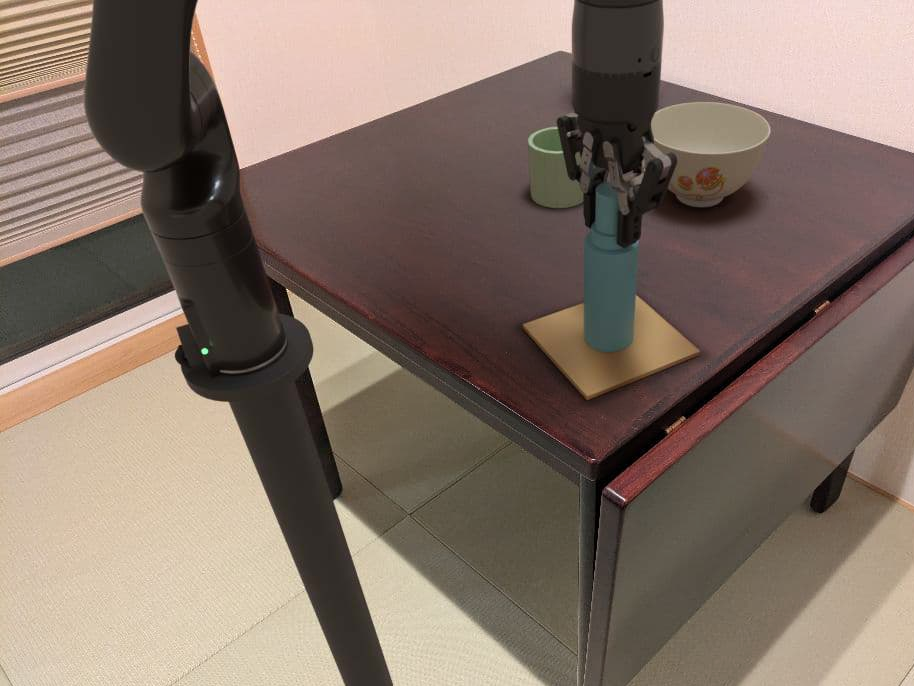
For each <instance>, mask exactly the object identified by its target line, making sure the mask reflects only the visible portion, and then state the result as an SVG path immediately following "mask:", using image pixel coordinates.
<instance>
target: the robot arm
mask: <svg viewBox="0 0 914 686" xmlns="http://www.w3.org/2000/svg"><path fill="white" fill-rule="evenodd" d="M198 2H199V0H92V12H91V24H90V32H89V33H90V34H89V42H88V53H87V59H86V60H87V62H86V69H85V77H84V85H83V86H84V88H83V109H84V115H85V119H86V122H87V125H88V127H89V130H90V132H91V133H92V136H93V138H94V139H95V140H96V142H97V143H98V145H100V147H101V149H102V150H103V151H104V152H105V153H106V154H107V155H108V156H109V157H110V159H112V160H114V161H115V162H116V163H118V164H119V165H121V166H122V167H124V168H126V169H130V170H131V171H134V172H137V173H138V172H139V173H142V185H141V192H140V208H141V211H142V215H143V217H144V219H145V221H146V224H147V226H148V229H149V230H150V233H151V235H152V238H153V240H154V242H155V245H156V247H157V250H158V252H159V254H160V257H161V260H162V262H163V264H164V267H165V269H166V272H167V274H168V276H169V278H170V281H171V284H172V286H173V288H174V291H175V293H176V296H177V299H178V301H179V304H180V307H181V310H182V312H183V314H184V316H185V319H186V321H187V324H186V323H185V324H184V325H180V326H177V327H175V329H176V332H177V336H178V339H179V341H180V344H179V345H178V347H177V348H176V350H175V352H174V359H175V361H176V363H178V365H180V366H181V365H182V366H184V367H186V368H188V369H190V368H191V367H192V366H195V365H198V364H201V363H205V365H206V367H207V369H208V372H209V374H210V377H216V376H220V375H226V376H240V375H247V374H251V373H254V372H257V371H260V370H263V369H265V368H267V367H269V366H270V365H272V364H273V363H275V362H276V361H277V360H279V359H280V358H281V357H282V355H283V354H284V353H285V351H286V349H287V346H288V338H287V335H286V332H285V331H284V327H283V324H282V322H281V319H280V316H279V309H278V307H277V304H276V301H275V298H274V294H273V291H272V288H271V285H270V281H269V279H268V275H267V272H266V269H265V266H264V263H263V260H262V257H261V253H260V251H259V247H258V244H257V241H256V238H255V235H254V231H253V228H252V225H251V223H250V219H249V216H248V213H247V210H246V207H245V204H244V200H243V197H242V193H241V173H240V171H241V170H240V164H239V160H238V156H237V153H236V149H235V145H234V142H233V138H232V134H231V130H230V126H229V123H228V119H227V116H226V112H225V109H224V105H223V102H222V99H221V96H220V93H219V90H218V88H217V86H216V84H215V81H214V78H213V77H212V75H211V72H209V70H208V69H207V67H206V65H205V64H204V63H203V62H202V61H201V60H200V58H199V57H198V56H197V55H196V54H195V53H194V52H193V51H192V50H191V45H192V44H191V43H192V31H193V25H194V19H195V14H196V9H197V5H198ZM664 33H665V16H664V0H573V11H572V17H571V106H572V109H573V112H570V113H567V114H565V115H563V116H559V117H558V118H557V119H556V127H558V132H559V136H560V141H561V146H562V150H563V155H564V160H565V164H566V169H567V174H568V177H569V178H570V180H572V181H574V180H577V181H578V182H579V183H580V185H579V186H580V189H581V191H582V192H583V202H582V203H583V204H582V205H583V206H582V208H583V210H582V213H583V219H584V226H585V227H586V228H588V229H589V230H591V226H592V224H593V223H594V222H595V217H596V188H597V186H598V185H600V184H601V183H604V182H608V179H610V181H611V186H612V189H614V190H616V191H617V197H618V204H619V209H620V211H619V212H618V222H617V245H619V246H621V247H622V248H626V247H628V246H630V245H632V244H634V243H636V242H637V240H639V241H640V239H641V236H642V225H643V224H642V222H643V215H645V214H646V213H648V212H651V211H653V210H656V209H658V208H660V207H661V206H662V203H663V201H664V198H665V195H666V193H667V191H668V185H669V183H670V180H671V178H672V175H673V173H674V170H675V167H676V165H677V157H676V155H675V154H674V153H668V154H666V155H664V154H663V153H662V152H661V151H660V150H659V149H658V148H657V147H656V146H655V145H654V136H653V133H652V128H651V121H652V118H653V116H654V114H655V112H657V111H658V108H659V105H660V91H661V78H662V62H663V49H664V45H663V44H664ZM577 152H580V156H581V162H580V164H579V165H577V162H576V157H575V155H576V153H577ZM628 173H630V174H628ZM626 174H628V175H626ZM624 175H625V176H624ZM631 188H632V193H633V196H631V193H630V194H629V189H630V190H631ZM184 355H186V357H187V358H186V357H185V356H184Z"/></svg>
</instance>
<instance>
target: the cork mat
mask: <svg viewBox="0 0 914 686" xmlns="http://www.w3.org/2000/svg"><path fill="white" fill-rule="evenodd" d="M522 329H523V331H524V332H525V333H526V334H527V335H528V337H530V338H531V339H532V340H533V341H534V343H535V344H536V345H537V346H538V347H539V348H540V349H541V351H542V352H543V353H544V354H545V355H546V356H547V358H549V360H550V361H551V362H552V363H553V364H554V365H555V366H556V367H557V368H558V370H559V371H560V372H561V373H562V375H564V376H565V377H566V379H567V380H568V381H569V382H570V383H571V384H572V386H574V387H575V389H576V390H577V391H578V392H579V393H580V395H582V397H584V399H585V400H586V401H589V400H592V399H594V398H597V397H600V396H601V395H604V394H606V393H609V392H611V391H614V390H617V389H620V388H622V387H624V386H626V385H629V384H632V383H635V382H636V381H639V380H642V379H644V378H646V377H649V376H651V375H654V374H656V373H659V372H661V371H664V370H666V369H670V368H671V367H673V366H676V365H679V364H681V363H684V362H686V361H688V360H691V359H693V358H696V357H699V356H700V354H701V350H700V349H699V348H698V347H697V346H695V345H694V344H693V343H692V342H691V341H689V340H688V339H687V338H686V337H685V336H684V335H682V334H681V333H680V331H678V330H677V329H676V328H675V327H674V326H672V324H670V322H668V321H667V320H666V319H665V318H663V317H662V316H661V315H660V314H659V313H658V312H657V311H655V310H654V309H653V308H652V307H651V306H650V305H648V304H647V303H646V302H645V301H644V300H643V299H642V298H641V297H640V296H638V295H637V294H636V301H635V318H634V335H633V341H632V343H631V344H630V345H629V346H628V347H627V348H625V349H623V350H620V351H616V352H602V351H598V350H595V349H593V348H591V347H590V346H588V345H587V344H586V342H585V340H584V302H582V303H579V304H576V305H574V306H570V307H568V308H564V309H562V310H559V311H557V312H554V313H551V314H548V315H545V316H542V317H539V318H537V319H533V320H531V321H528V322H525V323H523V324H522Z"/></svg>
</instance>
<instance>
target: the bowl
mask: <svg viewBox="0 0 914 686" xmlns="http://www.w3.org/2000/svg"><path fill="white" fill-rule="evenodd" d="M651 128H652V133H653V136H654V145H655V146H656V147H657V148H658V149H659V150H660V151H661V152H662V153H663V154H664V155H666V154H668V153H674V154H675V155H676V157H677V165H676V167H675V170H674V173H673V175H672V178H671V180H670V183H669V185H668V188H667V190H669V191H670V192H671V193H673V194H675V196H676V198H677V200H678V201H679V202H680V203H681V204H684V205H686V206H689V207H693V208H710V207H714V206H716V205H718V204H719V203H721V202H722V201H723V199H724V198H725V197H727V196H730V195H732V194H734V193H735V192H736V191H738V190H739V189H741V188H742V187H743V186H744V185H745V184H746V183H747V182H748V181H749V180H750V179H751V177H752V175H753V174H754V173H755V170H756V169H757V167H758V165H759V163H760V160H761V158H762V155H763V153H764V150H765V148H766V145H767V143H768V141H769V138H770V136H771V131H772V130H771V126H770V123H769V122H768V121H767V120H766V118H764V116H762V115H760V114H759V113H758V112H756V111H753V110H751V109H749V108H745V107H742V106H739V105H735V104H730V103H723V102H713V101H695V102H694V101H693V102H685V103H678V104H674V105H670V106H667V107H664V108H661V109H659V110H656V112H655V114H654V116H653V118H652V121H651Z"/></svg>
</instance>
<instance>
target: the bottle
mask: <svg viewBox="0 0 914 686" xmlns="http://www.w3.org/2000/svg"><path fill="white" fill-rule="evenodd" d="M629 194H630V195H631V188H630V189H629ZM619 211H620V209H619V204H618V197H617V191H616V190H614V189H612V186H611V180H610V181H607V182H604V183H601V184H600V185H598V186H597V188H596V217H595V222H594V223H593V224H592V226H591V229H590V231H589V232H587V234H586V235H585V236H584V239H583V303H584V340H585V342H586V344H587V345H588V346H590V347H591V348H593V349H595V350H598V351H602V352H616V351H620V350H623V349H625V348H627V347H628V346H629V345H630V344H631V343H632V341H633V335H634V318H635V301H636V295H637V284H638V283H637V281H638V264H639V245H640V239H639V240H637V242H636V243H634V244H632V245H630V246H628V247H626V248H622V247H621V246H619V245H617V222H618V212H619Z"/></svg>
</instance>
